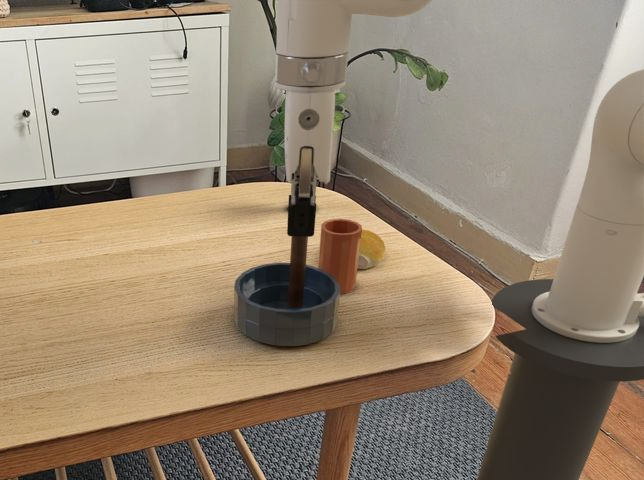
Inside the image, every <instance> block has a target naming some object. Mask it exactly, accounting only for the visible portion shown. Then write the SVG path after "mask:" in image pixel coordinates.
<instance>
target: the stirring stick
mask: <svg viewBox="0 0 644 480" xmlns="http://www.w3.org/2000/svg"><path fill="white" fill-rule="evenodd" d="M297 188H299V186H296V189H297ZM310 188H311V186H310ZM295 203H296V202H295ZM290 237H291V240H290V254H289V256H290V258H289V263H290V272H289V290H288V306H289V307H292V308H300V307H302V306H303V299H304V285H305V271H306V265H307V258H308V257H307V255H308V244H309V243H308V242H309V237H301V236H290Z"/></svg>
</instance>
